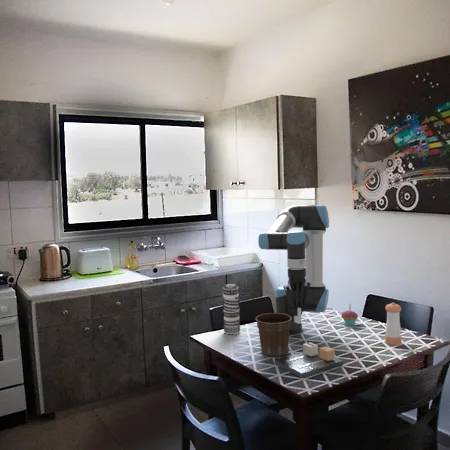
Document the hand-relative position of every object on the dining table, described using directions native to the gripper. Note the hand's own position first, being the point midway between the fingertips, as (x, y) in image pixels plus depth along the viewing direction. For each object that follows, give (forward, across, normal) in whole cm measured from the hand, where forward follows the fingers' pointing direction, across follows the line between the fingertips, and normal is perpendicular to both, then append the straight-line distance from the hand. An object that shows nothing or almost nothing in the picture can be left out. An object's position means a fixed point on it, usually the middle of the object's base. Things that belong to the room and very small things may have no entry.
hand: (297, 322), depth 206 cm
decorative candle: (+18, -2, +51) cm, 54 cm away
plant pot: (+18, -1, +16) cm, 24 cm away
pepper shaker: (+18, +51, -7) cm, 54 cm away
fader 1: (+15, +6, 0) cm, 17 cm away
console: (+18, +2, -4) cm, 18 cm away
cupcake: (+19, +55, +25) cm, 63 cm away
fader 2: (+15, +9, -8) cm, 19 cm away
